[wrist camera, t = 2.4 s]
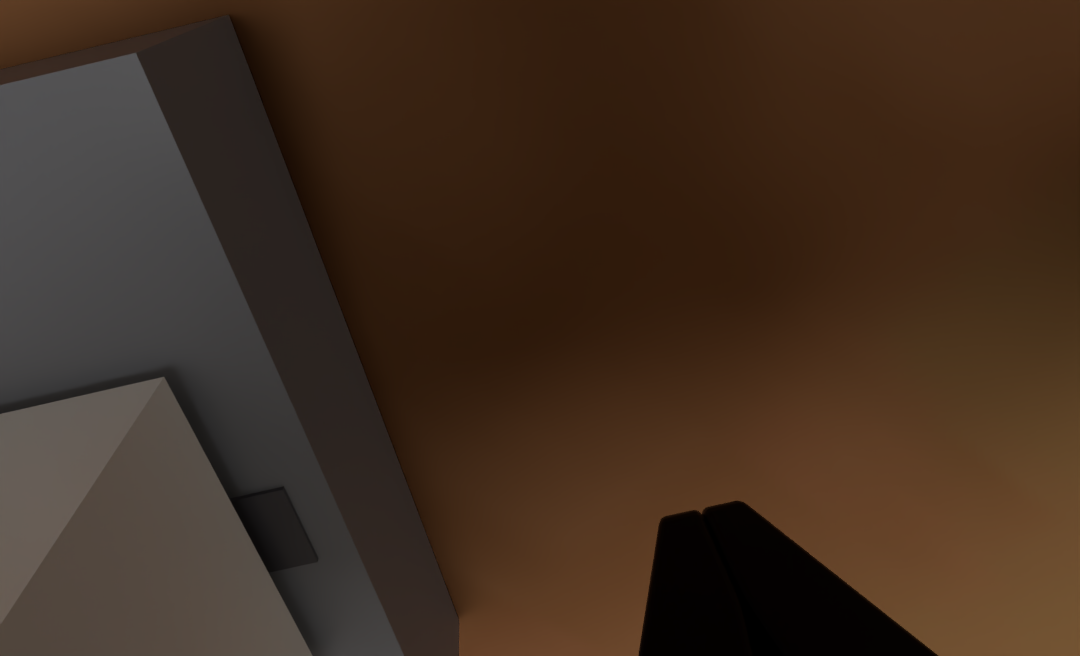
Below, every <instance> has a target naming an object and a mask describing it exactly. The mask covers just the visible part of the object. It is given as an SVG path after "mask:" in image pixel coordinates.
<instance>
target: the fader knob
mask: <svg viewBox="0 0 1080 656" xmlns="http://www.w3.org/2000/svg"><path fill="white" fill-rule="evenodd" d="M0 656H312V654H311V652H310V650H309V648H308V646H307V644H306V642H305V641H304V639H303V637H302V635H301V633H300V631H299V629H298V627H297V625H296V624H295V622H294V620H293V618H292V616H291V614H290V612H289V610H288V609H287V607H286V605H285V603H284V601H283V599H282V597H281V595H280V594H279V592H278V590H277V588H276V586H275V584H274V582H273V580H272V579H271V577H270V575H269V573H268V571H267V569H266V567H265V565H264V563H263V562H262V560H261V558H260V556H259V554H258V552H257V550H256V548H255V547H254V545H253V543H252V541H251V539H250V537H249V535H248V533H247V532H246V530H245V528H244V526H243V524H242V522H241V520H240V518H239V516H238V515H237V513H236V511H235V509H234V507H233V505H232V503H231V501H230V500H229V498H228V496H227V494H226V492H225V490H224V488H223V486H222V485H221V483H220V481H219V479H218V477H217V475H216V473H215V471H214V469H213V468H212V466H211V464H210V462H209V460H208V458H207V456H206V454H205V453H204V451H203V449H202V447H201V445H200V443H199V441H198V439H197V438H196V436H195V434H194V432H193V430H192V428H191V426H190V424H189V422H188V421H187V419H186V417H185V415H184V413H183V411H182V409H181V407H180V406H179V404H178V402H177V400H176V398H175V396H174V394H173V392H172V391H171V389H170V387H169V385H168V383H167V381H166V379H165V377H161V378H156V379H152V380H148V381H143V382H139V383H134V384H130V385H126V386H121V387H117V388H112V389H108V390H104V391H99V392H95V393H90V394H86V395H82V396H77V397H73V398H68V399H64V400H60V401H55V402H51V403H46V404H42V405H38V406H33V407H29V408H24V409H20V410H16V411H11V412H7V413H2V414H0Z"/></svg>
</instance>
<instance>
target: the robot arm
mask: <svg viewBox="0 0 1080 656" xmlns="http://www.w3.org/2000/svg"><path fill="white" fill-rule="evenodd" d="M639 656H938V655H937V654H935V653H934V652H933V651H932V650H930V649H929V648H928V647H927V646H925V645H924V644H923V643H922V642H920V641H919V640H918V639H917V638H915V637H914V636H913V635H911V634H910V633H909V632H908V631H906V630H905V629H904V628H903V627H901V626H900V625H899V624H898V623H896V622H895V621H894V620H892V619H891V618H890V617H889V616H887V615H886V614H885V613H884V612H882V611H881V610H880V609H879V608H877V607H876V606H875V605H874V604H872V603H871V602H870V601H868V600H867V599H866V598H865V597H863V596H862V595H861V594H860V593H858V592H857V591H856V590H855V589H853V588H852V587H851V586H849V585H848V584H847V583H846V582H844V581H843V580H842V579H841V578H839V577H838V576H837V575H836V574H834V573H833V572H832V571H831V570H829V569H828V568H827V567H825V566H824V565H823V564H822V563H820V562H819V561H818V560H817V559H815V558H814V557H813V556H812V555H810V554H809V553H808V552H806V551H805V550H804V549H803V548H801V547H800V546H799V545H798V544H796V543H795V542H794V541H793V540H791V539H790V538H789V537H788V536H786V535H785V534H784V533H782V532H781V531H780V530H779V529H777V528H776V527H775V526H774V525H772V524H771V523H770V522H769V521H767V520H766V519H765V518H763V517H762V516H761V515H760V514H758V513H757V512H756V511H755V510H753V509H752V508H751V507H750V506H748V505H747V504H746V503H744V502H741V501H733V502H728V503H724V504H719V505H715V506H710V507H707V508H705V509H704V510H703V512H702V514H701V513H700V512H699V511H696V510H692V511H687V512H682V513H678V514H673V515H669V516H665V517H663V518H662V519H661V521H660V523H659V527H658V534H657V540H656V547H655V553H654V559H653V566H652V572H651V579H650V585H649V591H648V598H647V604H646V611H645V617H644V624H643V630H642V636H641V643H640V649H639Z"/></svg>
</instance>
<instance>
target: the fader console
mask: <svg viewBox="0 0 1080 656" xmlns="http://www.w3.org/2000/svg"><path fill="white" fill-rule="evenodd" d="M161 377H165V379H166V381H167V383H168V385H169V387H170V389H171V391H172V392H173V394H174V396H175V398H176V400H177V402H178V404H179V406H180V407H181V409H182V411H183V413H184V415H185V417H186V419H187V421H188V422H189V424H190V426H191V428H192V430H193V432H194V434H195V436H196V438H197V439H198V441H199V443H200V445H201V447H202V449H203V451H204V453H205V454H206V456H207V458H208V460H209V462H210V464H211V466H212V468H213V469H214V471H215V473H216V475H217V477H218V479H219V481H220V483H221V485H222V486H223V488H224V490H225V492H226V494H227V496H228V498H229V500H230V501H231V503H232V505H233V507H234V509H235V511H236V513H237V515H238V516H239V518H240V520H241V522H242V524H243V526H244V528H245V530H246V532H247V533H248V535H249V537H250V539H251V541H252V543H253V545H254V547H255V548H256V550H257V552H258V554H259V556H260V558H261V560H262V562H263V563H264V565H265V567H266V569H267V571H268V573H269V575H270V577H271V579H272V580H273V582H274V584H275V586H276V588H277V590H278V592H279V594H280V595H281V597H282V599H283V601H284V603H285V605H286V607H287V609H288V610H289V612H290V614H291V616H292V618H293V620H294V622H295V624H296V625H297V627H298V629H299V631H300V633H301V635H302V637H303V639H304V641H305V642H306V644H307V646H308V648H309V650H310V652H311V654H312V656H459V619H458V616H457V614H456V611H455V608H454V606H453V603H452V601H451V598H450V595H449V593H448V590H447V587H446V585H445V582H444V580H443V577H442V574H441V572H440V569H439V566H438V564H437V561H436V559H435V556H434V553H433V551H432V548H431V545H430V543H429V540H428V537H427V535H426V532H425V530H424V527H423V524H422V522H421V519H420V516H419V514H418V511H417V509H416V506H415V503H414V501H413V498H412V495H411V493H410V490H409V487H408V485H407V482H406V480H405V477H404V474H403V472H402V469H401V466H400V464H399V461H398V459H397V456H396V453H395V451H394V448H393V445H392V443H391V440H390V438H389V435H388V432H387V430H386V427H385V424H384V422H383V419H382V416H381V414H380V411H379V409H378V406H377V403H376V401H375V398H374V395H373V393H372V390H371V388H370V385H369V382H368V380H367V377H366V374H365V372H364V369H363V366H362V364H361V361H360V359H359V356H358V353H357V351H356V348H355V345H354V343H353V340H352V338H351V335H350V332H349V330H348V327H347V324H346V322H345V319H344V317H343V314H342V311H341V309H340V306H339V303H338V301H337V298H336V295H335V293H334V290H333V288H332V285H331V282H330V280H329V277H328V274H327V272H326V269H325V267H324V264H323V261H322V259H321V256H320V253H319V251H318V248H317V246H316V243H315V240H314V238H313V235H312V232H311V230H310V227H309V224H308V222H307V219H306V217H305V214H304V211H303V209H302V206H301V203H300V201H299V198H298V196H297V193H296V190H295V188H294V185H293V182H292V180H291V177H290V174H289V172H288V169H287V167H286V164H285V161H284V159H283V156H282V153H281V151H280V148H279V146H278V143H277V140H276V138H275V135H274V132H273V130H272V127H271V125H270V122H269V119H268V117H267V114H266V111H265V109H264V106H263V103H262V101H261V98H260V96H259V93H258V90H257V88H256V85H255V82H254V80H253V77H252V75H251V72H250V69H249V67H248V64H247V61H246V59H245V56H244V53H243V51H242V48H241V46H240V43H239V40H238V38H237V35H236V32H235V30H234V27H233V25H232V22H231V19H230V17H229V15H225V16H221V17H217V18H213V19H209V20H205V21H200V22H196V23H192V24H188V25H184V26H180V27H175V28H171V29H167V30H163V31H159V32H155V33H150V34H146V35H142V36H138V37H134V38H129V39H125V40H121V41H117V42H113V43H109V44H104V45H100V46H96V47H92V48H88V49H84V50H79V51H75V52H71V53H67V54H63V55H59V56H54V57H50V58H46V59H42V60H38V61H34V62H29V63H25V64H21V65H17V66H13V67H8V68H4V69H0V414H2V413H7V412H11V411H16V410H20V409H24V408H29V407H33V406H38V405H42V404H46V403H51V402H55V401H60V400H64V399H68V398H73V397H77V396H82V395H86V394H90V393H95V392H99V391H104V390H108V389H112V388H117V387H121V386H126V385H130V384H134V383H139V382H143V381H148V380H152V379H156V378H161Z"/></svg>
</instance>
